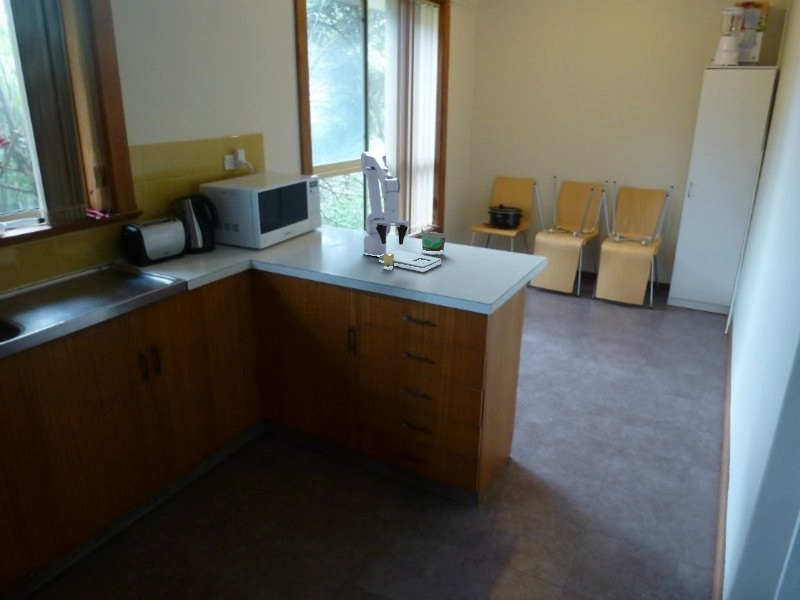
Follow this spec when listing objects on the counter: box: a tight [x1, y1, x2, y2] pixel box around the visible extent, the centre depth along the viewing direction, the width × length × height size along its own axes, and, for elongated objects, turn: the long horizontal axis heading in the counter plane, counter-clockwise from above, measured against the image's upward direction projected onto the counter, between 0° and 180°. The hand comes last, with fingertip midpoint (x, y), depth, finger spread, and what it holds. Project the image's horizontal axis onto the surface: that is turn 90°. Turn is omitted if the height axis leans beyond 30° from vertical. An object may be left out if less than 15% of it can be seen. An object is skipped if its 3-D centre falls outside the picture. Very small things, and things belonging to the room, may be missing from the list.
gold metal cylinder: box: [382, 252, 394, 267], centre depth 238 cm, size 4×4×6 cm
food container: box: [419, 228, 448, 251], centre depth 259 cm, size 12×6×10 cm, turn 62°
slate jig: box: [378, 249, 442, 268], centre depth 245 cm, size 22×14×2 cm, turn 56°
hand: (392, 244), depth 235 cm, fingers open, 7 cm apart
